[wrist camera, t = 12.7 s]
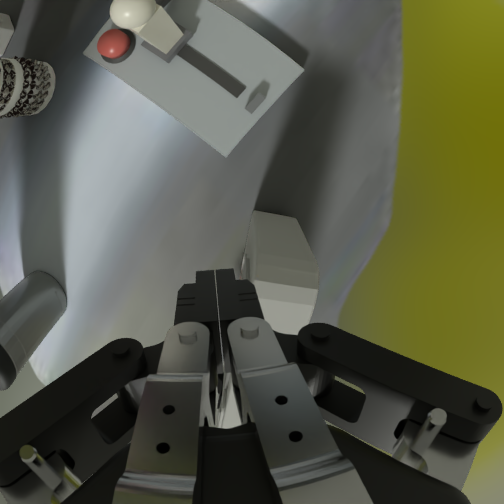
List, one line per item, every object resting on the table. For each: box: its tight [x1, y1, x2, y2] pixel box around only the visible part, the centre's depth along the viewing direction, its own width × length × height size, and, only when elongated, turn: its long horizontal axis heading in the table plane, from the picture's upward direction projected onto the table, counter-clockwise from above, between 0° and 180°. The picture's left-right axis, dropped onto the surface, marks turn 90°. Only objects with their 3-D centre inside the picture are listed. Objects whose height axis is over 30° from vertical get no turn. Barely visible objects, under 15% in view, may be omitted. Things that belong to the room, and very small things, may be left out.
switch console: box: [83, 0, 304, 157], centre depth 30 cm, size 24×14×4 cm, turn 50°
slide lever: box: [110, 0, 194, 63], centre depth 22 cm, size 4×4×14 cm
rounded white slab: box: [217, 210, 319, 429], centre depth 37 cm, size 29×8×18 cm, turn 170°
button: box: [97, 29, 130, 59], centre depth 28 cm, size 4×4×2 cm
